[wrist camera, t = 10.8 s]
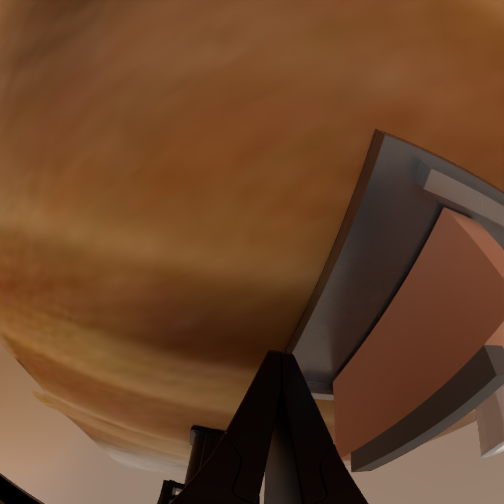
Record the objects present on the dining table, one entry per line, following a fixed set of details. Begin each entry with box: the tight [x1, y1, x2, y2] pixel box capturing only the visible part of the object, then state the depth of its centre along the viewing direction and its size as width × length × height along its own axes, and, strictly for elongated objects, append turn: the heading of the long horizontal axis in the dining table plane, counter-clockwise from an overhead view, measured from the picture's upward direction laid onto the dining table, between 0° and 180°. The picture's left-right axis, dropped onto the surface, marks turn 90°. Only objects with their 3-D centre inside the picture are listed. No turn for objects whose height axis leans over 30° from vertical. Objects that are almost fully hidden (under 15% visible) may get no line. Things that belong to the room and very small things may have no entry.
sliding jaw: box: [333, 207, 504, 472], centre depth 9 cm, size 11×2×6 cm, turn 169°
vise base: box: [286, 129, 504, 401], centre depth 10 cm, size 14×21×6 cm, turn 79°
